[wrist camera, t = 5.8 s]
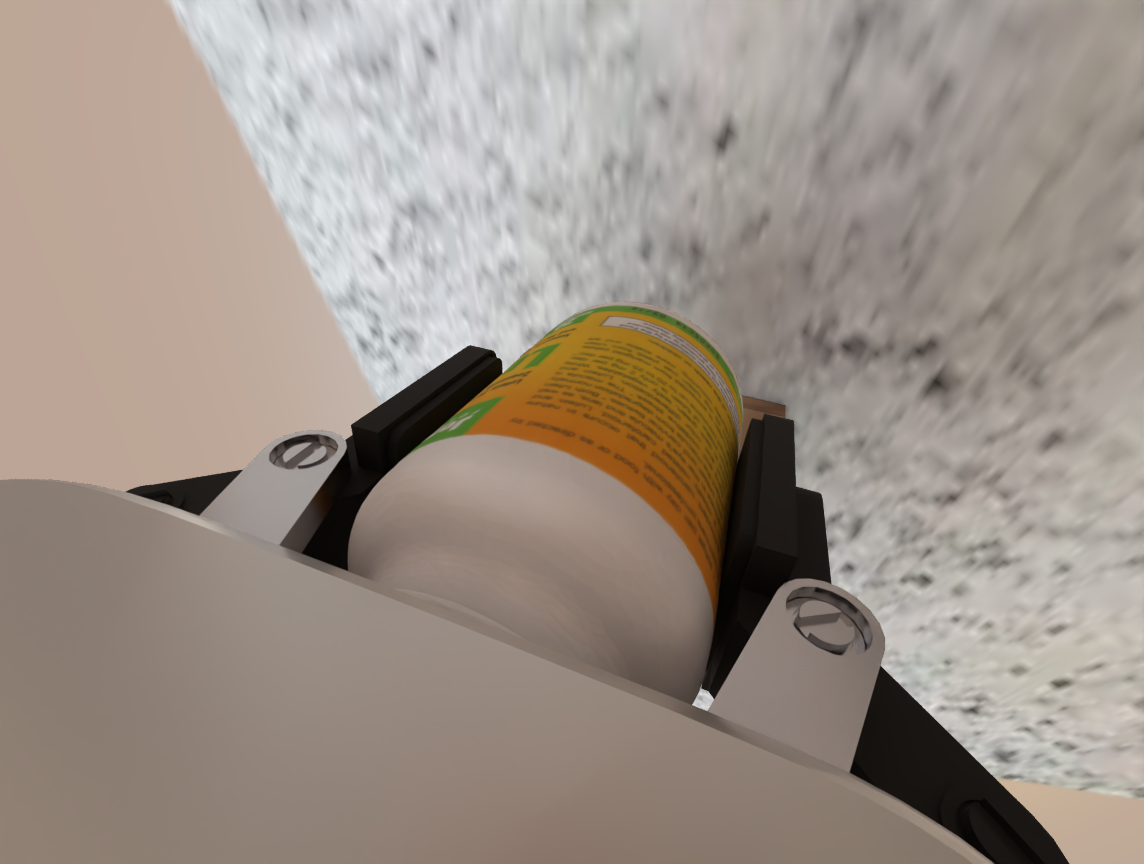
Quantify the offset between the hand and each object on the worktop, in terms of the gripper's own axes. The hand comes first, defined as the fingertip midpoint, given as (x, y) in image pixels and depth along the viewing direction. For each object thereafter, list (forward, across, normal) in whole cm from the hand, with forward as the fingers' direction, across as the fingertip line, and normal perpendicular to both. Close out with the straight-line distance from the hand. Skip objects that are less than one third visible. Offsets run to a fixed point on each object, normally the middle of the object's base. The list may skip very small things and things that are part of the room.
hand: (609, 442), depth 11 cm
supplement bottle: (+2, 0, 0) cm, 2 cm away
